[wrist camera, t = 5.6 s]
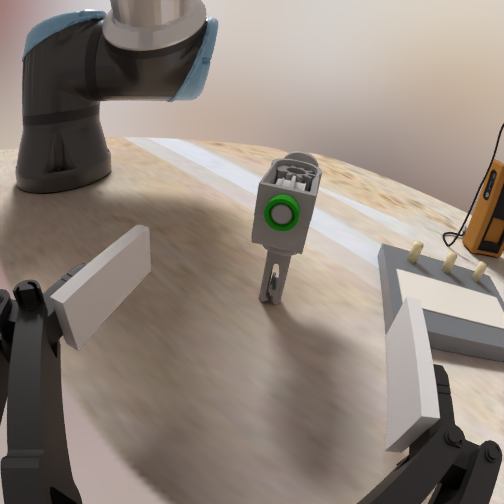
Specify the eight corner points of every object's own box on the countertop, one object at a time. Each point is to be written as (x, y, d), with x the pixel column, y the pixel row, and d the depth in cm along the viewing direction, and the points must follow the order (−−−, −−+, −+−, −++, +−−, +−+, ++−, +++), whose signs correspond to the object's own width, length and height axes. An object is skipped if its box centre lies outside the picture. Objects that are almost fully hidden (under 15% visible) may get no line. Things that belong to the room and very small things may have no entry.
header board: (385, 337, 21) (405, 301, 19) (377, 255, 31) (388, 226, 29) (517, 364, 19) (539, 334, 17) (483, 286, 29) (496, 261, 27)
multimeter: (481, 230, 45) (516, 124, 34) (512, 261, 36) (556, 143, 26) (419, 216, 44) (454, 92, 33) (450, 250, 35) (498, 103, 25)
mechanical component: (297, 266, 27) (324, 153, 22) (277, 355, 19) (318, 202, 13) (264, 258, 28) (284, 145, 22) (230, 342, 19) (252, 187, 14)
